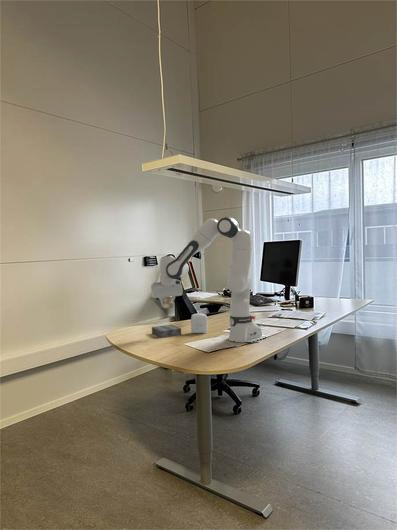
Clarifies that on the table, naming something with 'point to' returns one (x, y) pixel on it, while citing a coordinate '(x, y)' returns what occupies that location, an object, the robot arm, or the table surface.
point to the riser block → (166, 331)
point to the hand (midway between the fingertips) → (167, 303)
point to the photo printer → (199, 323)
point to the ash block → (167, 302)
